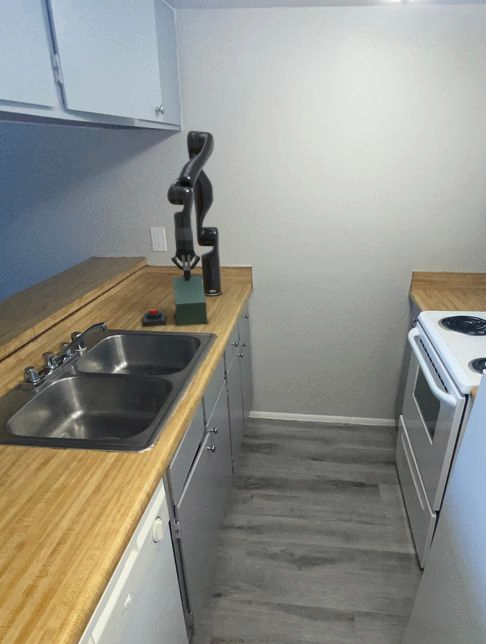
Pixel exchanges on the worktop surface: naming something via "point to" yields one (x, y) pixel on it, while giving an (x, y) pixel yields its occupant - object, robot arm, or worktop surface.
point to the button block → (154, 319)
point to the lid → (189, 291)
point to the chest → (191, 314)
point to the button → (153, 311)
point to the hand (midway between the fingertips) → (187, 278)
